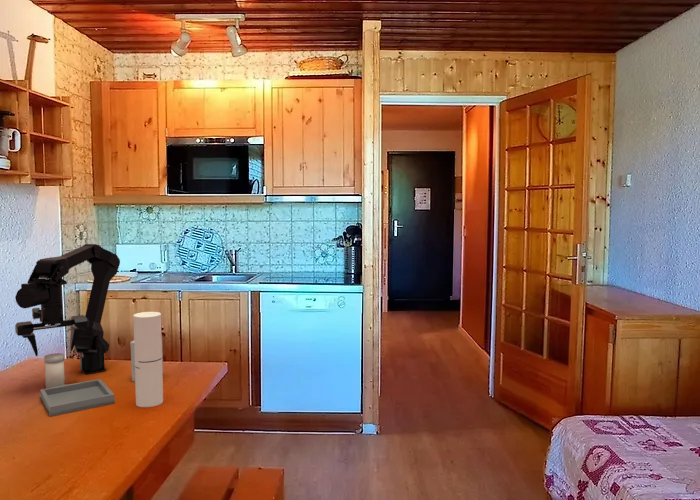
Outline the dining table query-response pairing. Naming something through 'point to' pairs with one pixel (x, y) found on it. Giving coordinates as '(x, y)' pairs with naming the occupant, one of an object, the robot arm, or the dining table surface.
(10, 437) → the dining table surface
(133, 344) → the supplement box
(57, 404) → the tray
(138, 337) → the cylindrical container
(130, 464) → the dining table surface
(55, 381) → the shaker
